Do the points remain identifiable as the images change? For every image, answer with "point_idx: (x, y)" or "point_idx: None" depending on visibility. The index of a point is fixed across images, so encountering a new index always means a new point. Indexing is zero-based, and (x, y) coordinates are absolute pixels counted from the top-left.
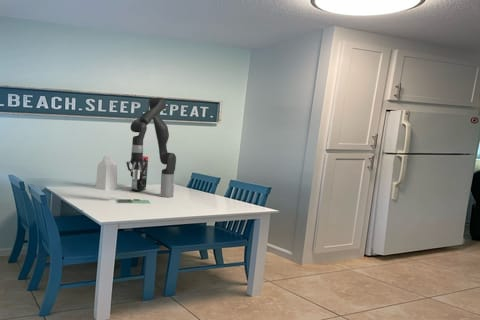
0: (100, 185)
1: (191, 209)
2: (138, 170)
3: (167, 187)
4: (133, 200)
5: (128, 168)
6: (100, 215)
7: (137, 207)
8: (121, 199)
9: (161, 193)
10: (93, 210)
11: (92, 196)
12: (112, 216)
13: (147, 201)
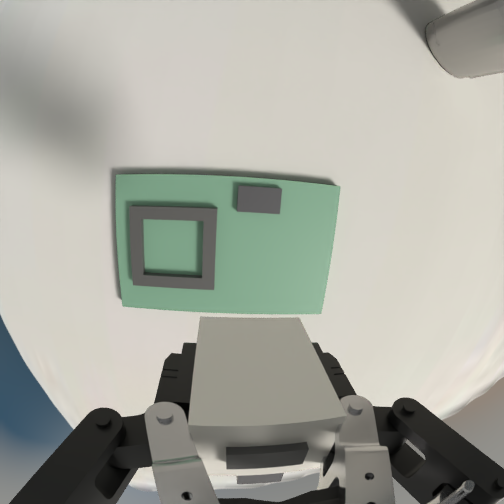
0: None
1: (425, 378)
2: (294, 467)
3: (487, 65)
4: (235, 205)
5: (103, 475)
6: None
7: None
8: (148, 216)
9: (439, 43)
10: (66, 399)
11: (41, 39)
12: None
13: (322, 245)
